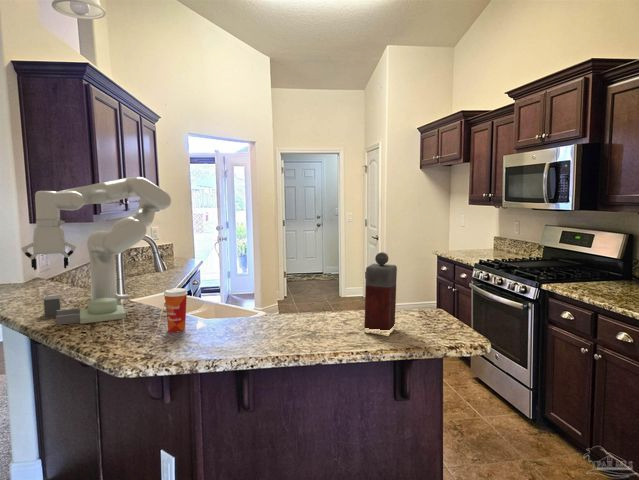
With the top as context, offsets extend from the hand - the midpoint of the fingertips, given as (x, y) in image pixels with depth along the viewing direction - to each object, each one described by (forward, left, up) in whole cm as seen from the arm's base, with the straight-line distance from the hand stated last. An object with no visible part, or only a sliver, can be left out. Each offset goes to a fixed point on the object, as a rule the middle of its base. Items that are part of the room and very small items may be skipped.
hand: (50, 268), depth 158 cm
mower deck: (-13, +10, -18) cm, 24 cm away
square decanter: (-101, +73, -18) cm, 126 cm away
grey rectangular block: (0, 0, -18) cm, 18 cm away
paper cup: (-38, +40, -18) cm, 58 cm away
